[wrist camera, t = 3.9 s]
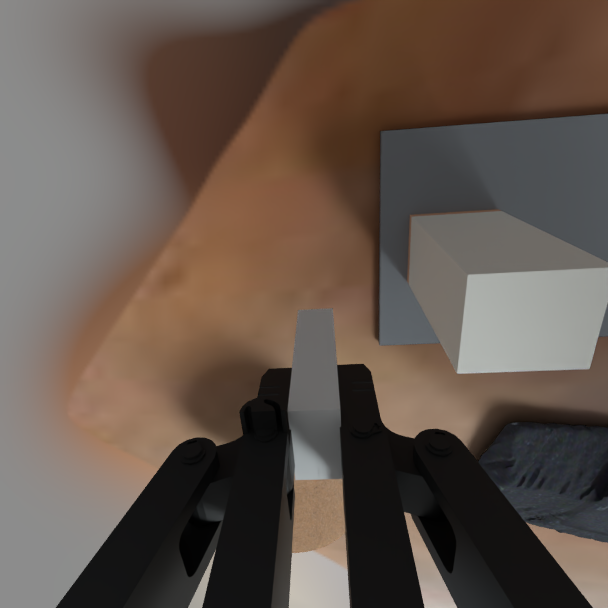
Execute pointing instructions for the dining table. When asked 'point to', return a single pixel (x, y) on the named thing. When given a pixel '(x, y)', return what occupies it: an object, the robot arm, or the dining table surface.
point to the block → (505, 292)
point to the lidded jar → (317, 514)
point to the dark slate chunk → (553, 475)
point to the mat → (488, 194)
